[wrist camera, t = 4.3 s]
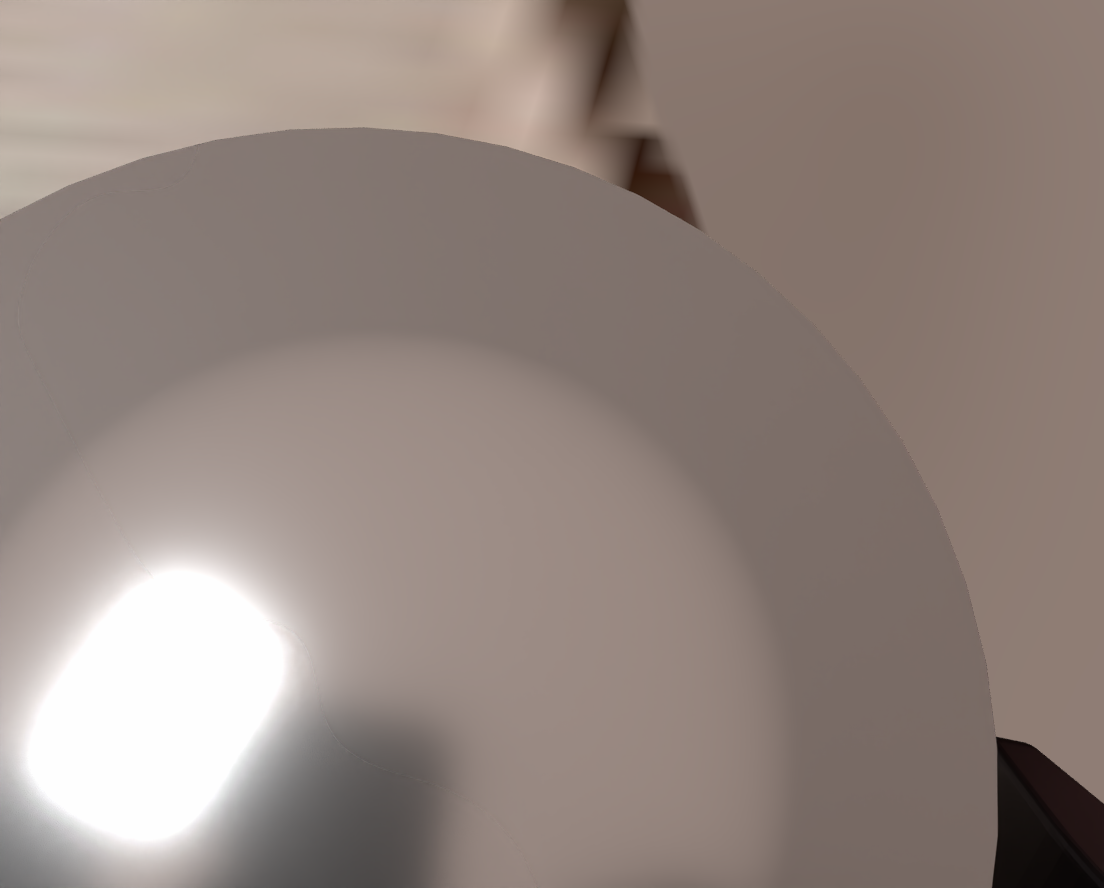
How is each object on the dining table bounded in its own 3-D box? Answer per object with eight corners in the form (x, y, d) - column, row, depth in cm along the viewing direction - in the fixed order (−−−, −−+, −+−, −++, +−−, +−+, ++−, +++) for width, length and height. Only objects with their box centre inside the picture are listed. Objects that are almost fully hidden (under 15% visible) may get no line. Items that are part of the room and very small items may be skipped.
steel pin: (590, 875, 15) (1234, 1165, 3) (313, 977, 14) (-358, 1949, 2) (507, 609, 16) (726, 42, 4) (247, 688, 15) (-426, 263, 3)
